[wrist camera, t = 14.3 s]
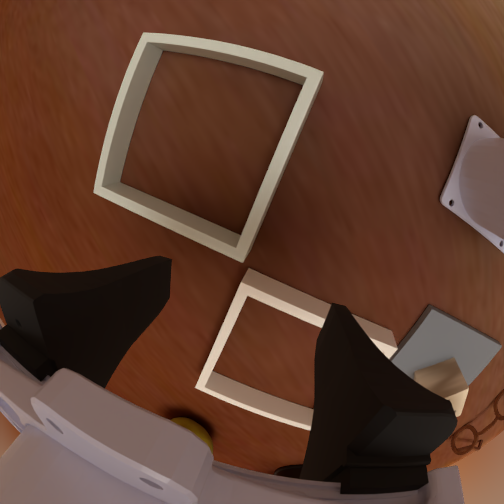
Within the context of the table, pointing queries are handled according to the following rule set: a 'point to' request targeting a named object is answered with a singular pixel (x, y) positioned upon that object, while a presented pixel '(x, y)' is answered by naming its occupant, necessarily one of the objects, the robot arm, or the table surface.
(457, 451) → the glasses
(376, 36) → the table surface
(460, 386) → the letter cube
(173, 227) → the bin
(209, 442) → the lemon
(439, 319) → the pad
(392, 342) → the bin
